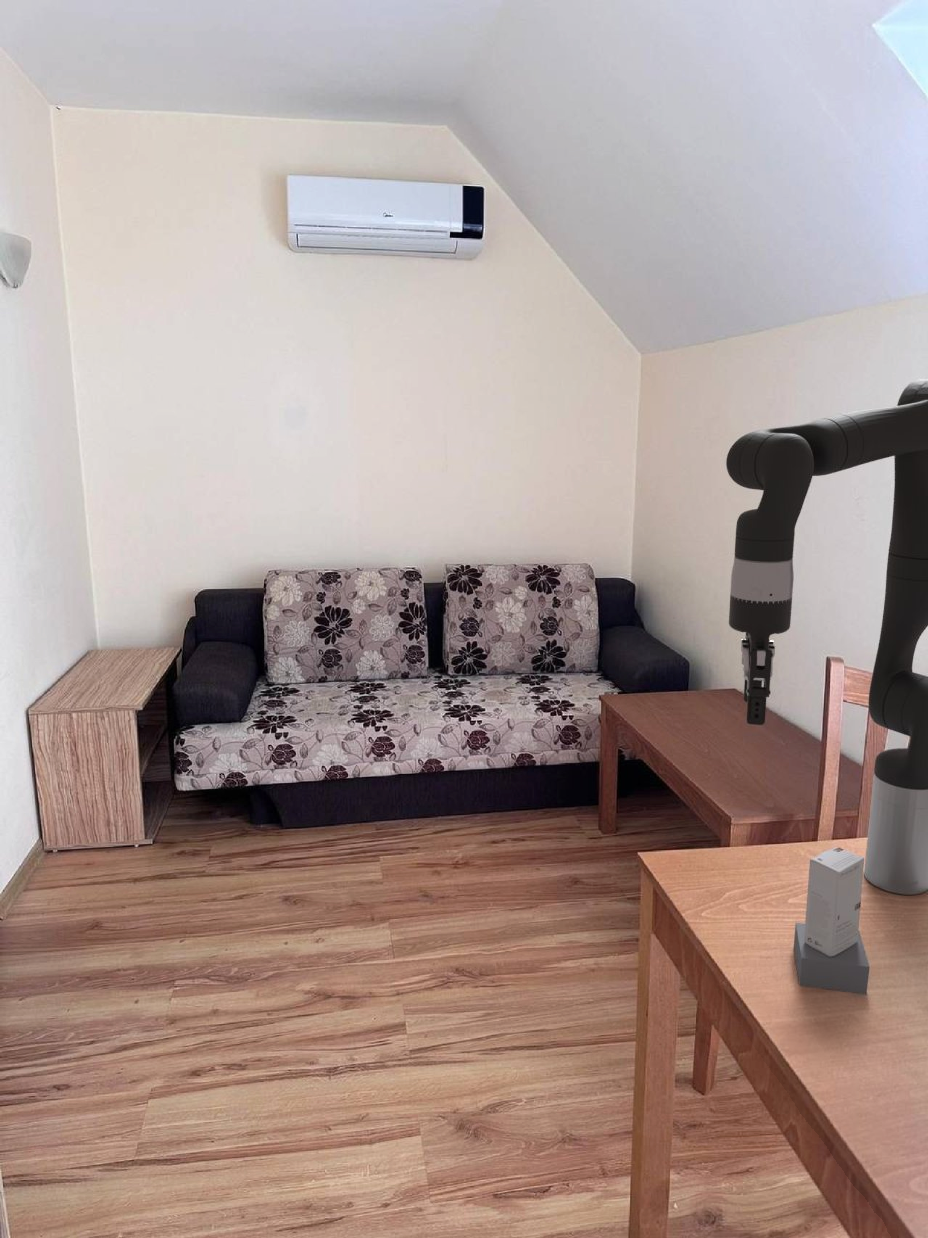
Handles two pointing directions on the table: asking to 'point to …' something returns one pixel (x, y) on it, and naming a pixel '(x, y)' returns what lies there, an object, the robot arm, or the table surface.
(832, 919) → the skincare box
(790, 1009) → the table surface
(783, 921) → the table surface
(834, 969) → the charcoal plinth
